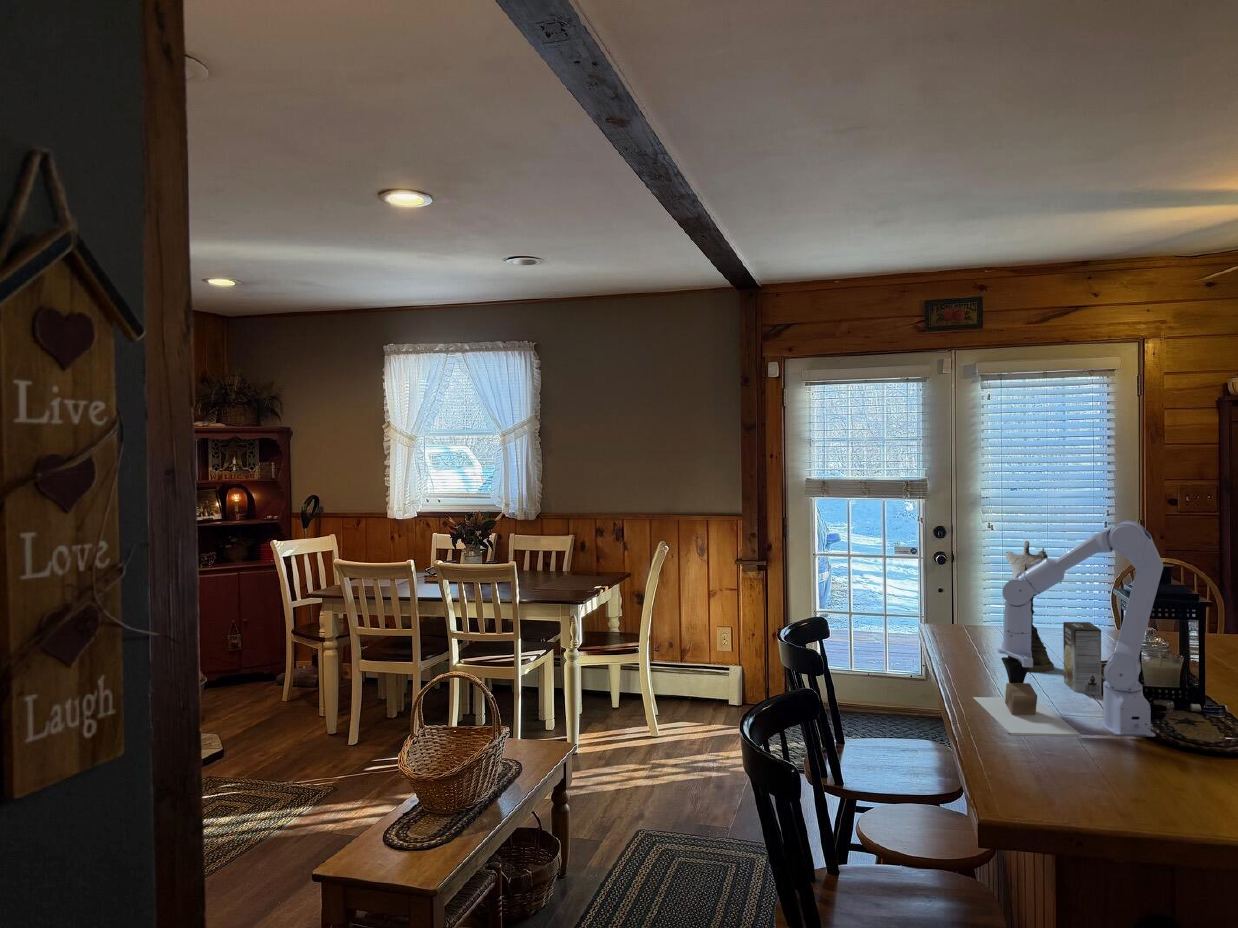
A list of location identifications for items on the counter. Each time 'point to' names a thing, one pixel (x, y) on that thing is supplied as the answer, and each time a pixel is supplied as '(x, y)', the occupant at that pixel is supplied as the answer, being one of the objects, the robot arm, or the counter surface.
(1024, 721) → the mat
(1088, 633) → the coffee box
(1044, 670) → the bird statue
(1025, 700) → the flip block
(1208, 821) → the counter surface
